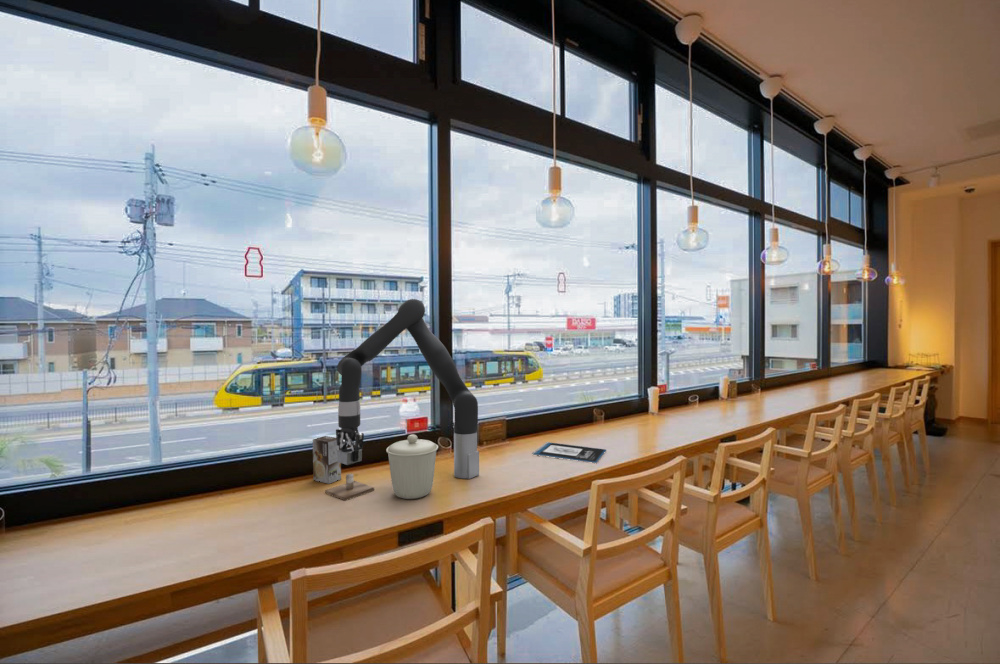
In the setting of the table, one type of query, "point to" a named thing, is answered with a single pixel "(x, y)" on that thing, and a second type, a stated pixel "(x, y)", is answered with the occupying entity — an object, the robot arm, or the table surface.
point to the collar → (347, 456)
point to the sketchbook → (570, 452)
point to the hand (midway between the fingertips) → (349, 459)
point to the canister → (412, 467)
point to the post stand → (349, 489)
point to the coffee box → (326, 460)
